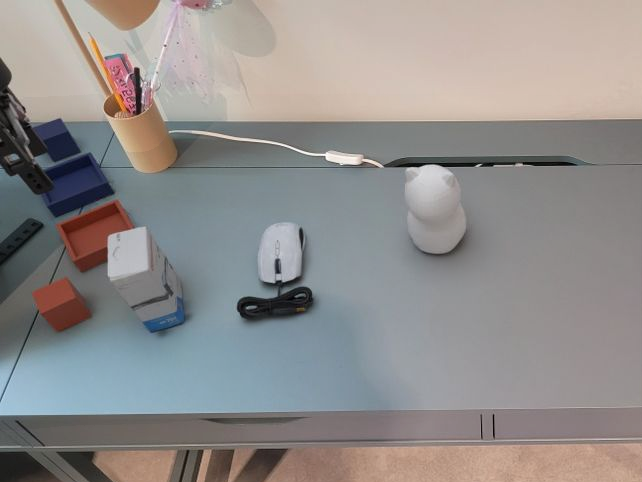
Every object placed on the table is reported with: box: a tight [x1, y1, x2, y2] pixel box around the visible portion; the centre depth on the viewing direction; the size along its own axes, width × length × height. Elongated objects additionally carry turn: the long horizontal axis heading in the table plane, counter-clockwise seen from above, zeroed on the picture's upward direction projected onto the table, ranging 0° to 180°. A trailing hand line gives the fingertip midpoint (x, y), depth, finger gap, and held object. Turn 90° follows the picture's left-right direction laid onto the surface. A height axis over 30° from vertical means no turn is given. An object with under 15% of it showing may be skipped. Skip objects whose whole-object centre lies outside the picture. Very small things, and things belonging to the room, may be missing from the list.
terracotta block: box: [31, 276, 92, 333], centre depth 88 cm, size 4×4×4 cm
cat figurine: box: [403, 164, 467, 255], centre depth 95 cm, size 9×12×15 cm
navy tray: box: [40, 151, 115, 218], centre depth 105 cm, size 9×9×2 cm
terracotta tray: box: [55, 198, 135, 273], centre depth 98 cm, size 9×9×2 cm
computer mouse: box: [236, 221, 314, 320], centre depth 94 cm, size 10×18×4 cm, turn 10°
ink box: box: [107, 225, 185, 333], centre depth 87 cm, size 9×5×12 cm, turn 21°
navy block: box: [32, 117, 82, 163], centre depth 110 cm, size 4×4×4 cm
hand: (42, 172), depth 78 cm, fingers open, 8 cm apart
